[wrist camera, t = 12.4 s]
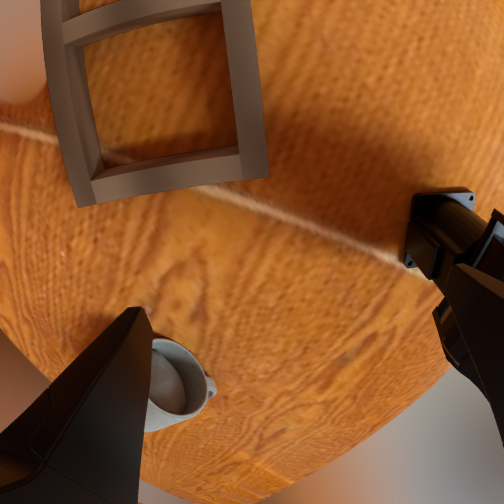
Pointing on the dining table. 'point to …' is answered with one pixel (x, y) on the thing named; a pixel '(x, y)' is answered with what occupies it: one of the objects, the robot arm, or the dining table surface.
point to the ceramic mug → (175, 385)
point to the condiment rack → (80, 110)
